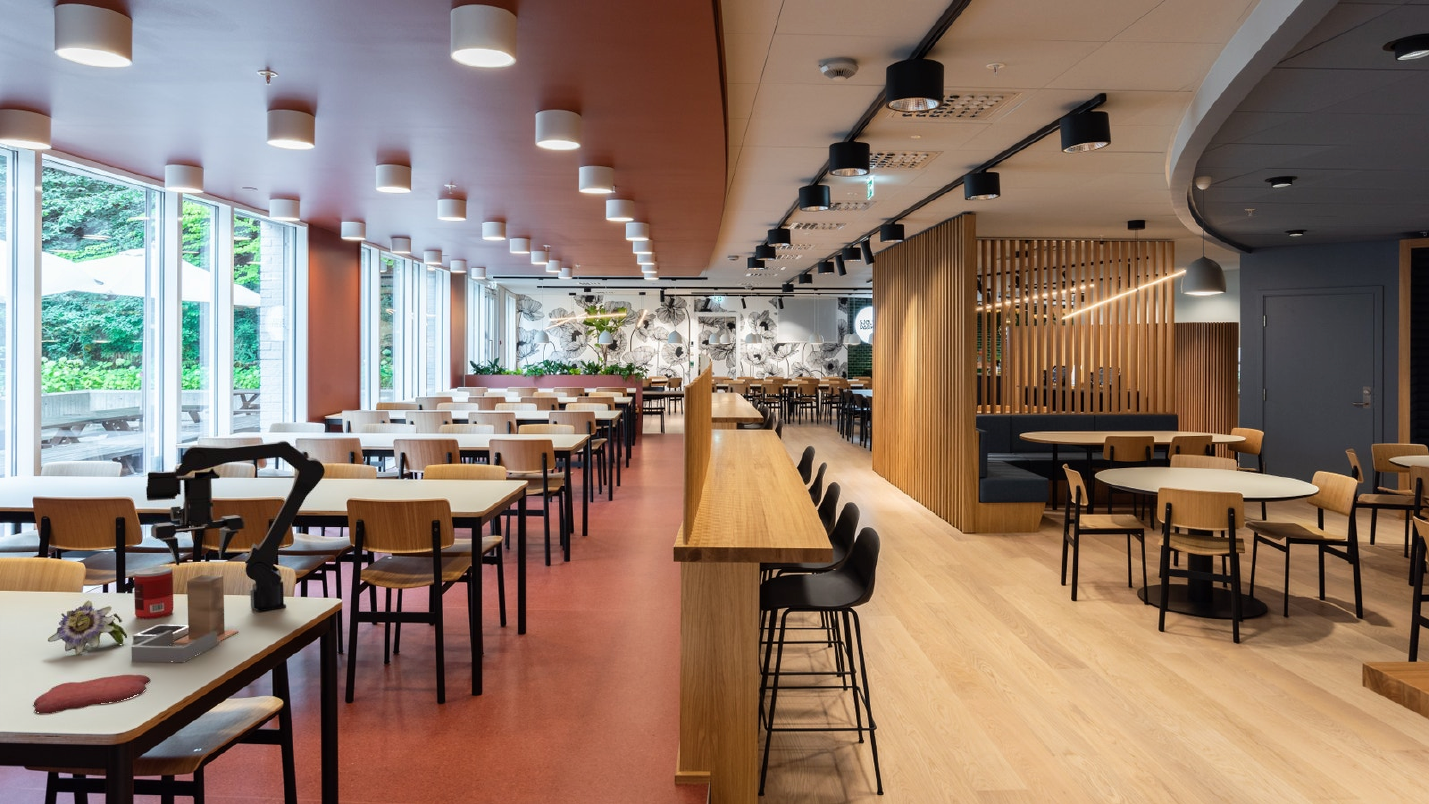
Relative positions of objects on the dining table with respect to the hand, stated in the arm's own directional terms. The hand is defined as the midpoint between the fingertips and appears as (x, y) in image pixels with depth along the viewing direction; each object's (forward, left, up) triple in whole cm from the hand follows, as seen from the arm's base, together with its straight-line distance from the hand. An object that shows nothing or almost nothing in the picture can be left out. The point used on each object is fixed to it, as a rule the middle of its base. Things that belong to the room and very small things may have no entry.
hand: (199, 562), depth 210 cm
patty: (+28, +42, -14) cm, 52 cm away
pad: (+4, +20, -13) cm, 24 cm away
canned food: (+8, -8, -13) cm, 17 cm away
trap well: (+10, +13, -13) cm, 21 cm away
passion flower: (+24, +10, -13) cm, 29 cm away
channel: (+11, +26, -13) cm, 31 cm away
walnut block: (+4, +20, -13) cm, 24 cm away
